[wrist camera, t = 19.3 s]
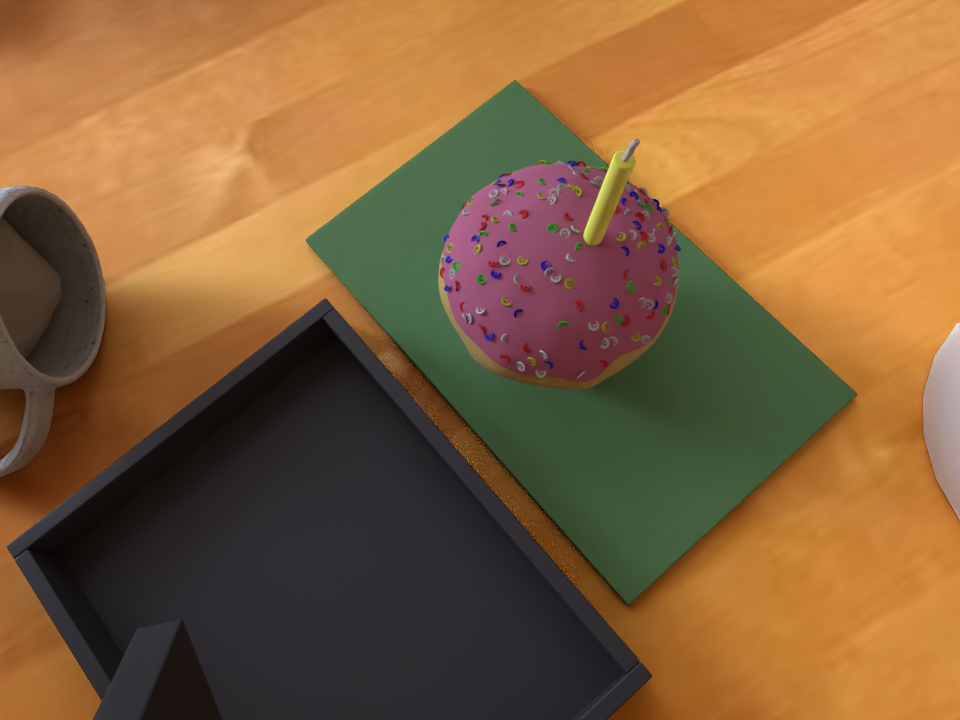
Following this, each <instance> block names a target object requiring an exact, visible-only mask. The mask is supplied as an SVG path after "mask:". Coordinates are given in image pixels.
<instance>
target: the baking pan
mask: <svg viewBox="0 0 960 720" xmlns="http://www.w3.org/2000/svg"><path fill="white" fill-rule="evenodd" d="M7 548H8V550H9V552H10V553H11V555H12V557H13V558H14V559H15V561H16V563H17V564H18V566H19V568H20V569H21V571H22V572H23V574H24V576H25V577H26V579H27V581H28V582H29V584H30V585H31V587H32V589H33V590H34V592H35V594H36V595H37V597H38V598H39V600H40V602H41V603H42V605H43V606H44V608H45V610H46V611H47V613H48V615H49V616H50V618H51V619H52V621H53V623H54V624H55V626H56V628H57V629H58V631H59V632H60V634H61V636H62V637H63V639H64V640H65V642H66V644H67V645H68V647H69V649H70V650H71V652H72V653H73V655H74V657H75V658H76V660H77V662H78V663H79V665H80V666H81V668H82V670H83V671H84V673H85V674H86V676H87V678H88V679H89V681H90V683H91V684H92V686H93V687H94V689H95V691H96V692H97V694H98V696H99V697H100V699H101V700H103V698H104V695H105V693H106V691H107V689H108V687H109V685H110V683H111V681H112V679H113V677H114V675H115V673H116V671H117V669H118V667H119V665H120V663H121V661H122V659H123V657H124V654H125V652H126V650H127V648H128V646H129V644H130V642H131V640H132V638H133V636H134V634H135V632H136V630H137V628H142V627H147V626H151V625H156V624H161V623H165V622H170V621H175V620H180V619H183V622H184V624H185V627H186V629H187V632H188V634H189V637H190V639H191V642H192V644H193V647H194V649H195V652H196V654H197V657H198V659H199V662H200V664H201V667H202V669H203V672H204V675H205V677H206V680H207V682H208V685H209V687H210V690H211V692H212V695H213V697H214V700H215V702H216V705H217V707H218V710H219V712H220V715H221V717H222V720H607V719H608V718H609V717H610V716H611V715H612V714H614V713H615V712H616V711H617V710H618V709H619V708H620V707H621V706H622V705H623V704H624V703H625V702H626V701H627V700H628V699H629V698H630V697H631V696H633V695H634V694H635V693H636V692H637V691H638V690H639V689H640V688H641V687H642V686H643V685H644V684H645V683H646V682H647V681H648V680H649V679H651V677H652V674H651V673H650V672H649V671H648V670H647V669H646V667H645V666H644V665H643V664H642V663H641V662H639V659H638V658H637V657H636V656H635V655H634V653H633V652H632V651H631V650H630V649H629V648H628V647H627V645H626V644H625V643H624V642H623V641H622V640H621V638H620V637H619V636H618V635H617V634H616V633H615V632H614V630H613V629H612V628H611V627H610V626H609V625H608V623H607V622H606V621H605V620H604V619H603V618H602V617H601V615H600V614H599V613H598V612H597V611H596V610H595V608H594V607H593V606H592V605H591V604H590V603H589V602H588V600H587V599H586V598H585V597H584V596H583V595H582V593H581V592H580V591H579V590H578V589H577V588H576V587H575V585H574V584H573V583H572V582H571V581H570V580H569V578H568V577H567V576H566V575H565V574H564V573H563V572H562V570H561V569H560V568H559V567H558V566H557V565H556V563H555V562H554V561H553V560H552V559H551V558H550V557H549V555H548V554H547V553H546V552H545V551H544V550H543V548H542V547H541V546H540V545H539V544H538V543H537V541H536V540H535V539H534V538H533V537H532V536H531V535H530V533H529V532H528V531H527V530H526V529H525V528H524V526H523V525H522V524H521V523H520V522H519V521H518V520H517V518H516V517H515V516H514V515H513V514H512V513H511V511H510V510H509V509H508V508H507V507H506V506H505V505H504V503H503V502H502V501H501V500H500V499H499V498H498V496H497V495H496V494H495V493H494V492H493V491H492V490H491V488H490V487H489V486H488V485H487V484H486V483H485V481H484V480H483V479H482V478H481V477H480V476H479V475H478V473H477V472H476V471H475V470H474V469H473V468H472V466H471V465H470V464H469V463H468V462H467V461H466V460H465V458H464V457H463V456H462V455H461V454H460V453H459V451H458V450H457V449H456V448H455V447H454V446H453V445H452V443H451V442H450V441H449V440H448V439H447V438H446V436H445V435H444V434H443V433H442V432H441V431H440V429H439V428H438V427H437V426H436V425H435V424H434V423H433V421H432V420H431V419H430V418H429V417H428V416H427V414H426V413H425V412H424V411H423V410H422V409H421V408H420V406H419V405H418V404H417V403H416V402H415V401H414V399H413V398H412V397H411V396H410V395H409V394H408V393H407V391H406V390H405V389H404V388H403V387H402V386H401V384H400V383H399V382H398V381H397V380H396V379H395V378H394V376H393V375H392V374H391V373H390V372H389V371H388V369H387V368H386V367H385V366H384V365H383V364H382V363H381V361H380V360H379V359H378V358H377V357H376V356H375V354H374V353H373V352H372V351H371V350H370V349H369V348H368V346H367V345H366V344H365V343H364V342H363V341H362V339H361V338H360V337H359V336H358V335H357V334H356V333H355V331H354V330H353V329H352V328H351V327H350V326H349V324H348V323H347V322H346V321H345V320H344V319H343V317H342V316H341V315H340V314H339V313H338V312H337V311H336V309H334V307H333V306H332V305H331V304H330V303H329V301H328V300H327V299H323V300H322V301H321V302H320V303H318V304H317V305H316V306H314V307H313V308H312V309H311V310H309V311H308V312H307V313H305V314H304V315H303V316H302V317H300V318H299V319H298V320H297V321H295V322H294V323H293V324H291V325H290V326H289V327H288V328H286V329H285V330H284V331H282V332H281V333H280V334H279V335H277V336H276V337H275V338H273V339H272V340H271V341H270V342H268V343H267V344H266V345H264V346H263V347H262V348H261V349H259V350H258V351H257V352H255V353H254V354H253V355H252V356H250V357H249V358H248V359H246V360H245V361H244V362H243V363H241V364H240V365H239V366H237V367H236V368H235V369H234V370H232V371H231V372H230V373H228V374H227V375H226V376H225V377H223V378H222V379H221V380H219V381H218V382H217V383H216V384H214V385H213V386H212V387H210V388H209V389H208V390H207V391H205V392H204V393H203V394H202V395H200V396H199V397H198V398H196V399H195V400H194V401H193V402H191V403H190V404H189V405H187V406H186V407H185V408H184V409H182V410H181V411H180V412H178V413H177V414H176V415H175V416H173V417H172V418H171V419H169V420H168V421H167V422H166V423H164V424H163V425H162V426H160V427H159V428H158V429H157V430H155V431H154V432H153V433H151V434H150V435H149V436H148V437H146V438H145V439H144V440H142V441H141V442H140V443H139V444H137V445H136V446H135V447H133V448H132V449H131V450H130V451H128V452H127V453H126V454H124V455H123V456H122V457H121V458H119V459H118V460H117V461H116V462H114V463H113V464H112V465H110V466H109V467H108V468H107V469H105V470H104V471H103V472H101V473H100V474H99V475H98V476H96V477H95V478H94V479H92V480H91V481H90V482H89V483H87V484H86V485H85V486H83V487H82V488H81V489H80V490H78V491H77V492H76V493H74V494H73V495H72V496H71V497H69V498H68V499H67V500H65V501H64V502H63V503H62V504H60V505H59V506H58V507H56V508H55V509H54V510H53V511H51V512H50V513H49V514H47V515H46V516H45V517H44V518H42V519H41V520H40V521H38V522H37V523H36V524H35V525H33V526H32V527H31V528H30V529H28V530H27V531H26V532H24V533H23V534H22V535H21V536H19V537H18V538H17V539H15V540H14V541H13V542H12V543H10V544H9V545H8V546H7Z"/></svg>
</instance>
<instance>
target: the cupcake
mask: <svg viewBox="0 0 960 720" xmlns="http://www.w3.org/2000/svg"><path fill="white" fill-rule="evenodd" d="M639 143H640V141H639V140H638V139H634V140H633V141H632V142H631V143H630V144H629V146H628V148H627V151H626V150H621V151H618V152H616V153H615V154H614V156H613V158H612V161H611V163H610V166H609V168H608V171H607V169H606V168H604V167H600V168H598V169H597V170H596V169H595V167H591V166H586V164H585V162H583V161H578V162H575V161H568V162H567V163H563V162H561V161H559V160H558V162H556V163H549V162H547V161H545V160H540V165H534V166H529V167H526V168H523V169H520V170H517V171H516V170H512V171H510V172H509V173H503V174H501V175H500V176H499V177H498V180H496V181H494V182H492V183H491V184H489V185H488V186H486V187H484V188H483V189H481V190H480V191H478V192H477V193H476V194H474V195H473V196H472V197H471V198H470V199H469V200H468V201H467V203H466V204H465V203H463V206H462V209H461V212H460V214H459V216H458V217H457V219H456V221H455V223H454V224H453V226H452V228H451V230H450V232H449V234H448V235H445V237H444V242H445V246H444V249H443V252H442V256H441V260H440V265H439V276H438V285H439V293H440V297H441V301H442V304H443V307H444V309H445V311H446V313H447V315H448V317H449V319H450V321H451V323H452V324H453V326H454V328H455V329H456V331H457V332H458V334H459V336H460V337H461V339H462V340H463V342H464V344H465V346H466V348H467V350H468V352H469V354H470V355H471V356H472V358H473V359H474V360H475V361H476V362H478V363H479V364H480V365H482V366H483V367H484V368H486V369H487V370H489V371H490V372H492V373H494V374H496V375H499V376H501V377H504V378H507V379H510V380H513V381H517V382H521V383H526V384H532V385H537V386H543V387H552V388H561V389H569V390H584V389H588V388H591V387H593V386H595V385H597V384H598V383H600V382H602V381H603V380H605V379H606V378H608V377H610V376H612V375H613V374H615V373H617V372H619V371H620V370H622V369H623V368H625V367H626V366H628V365H629V364H630V363H632V362H633V361H634V360H636V359H637V358H638V357H639V356H641V355H642V354H643V353H644V352H645V351H646V350H647V349H648V348H649V347H650V346H651V345H652V344H653V343H654V342H655V341H656V339H657V338H658V337H659V335H660V334H661V332H662V331H663V329H664V328H665V326H666V324H667V322H668V320H669V318H670V316H671V313H672V311H673V308H674V305H675V301H676V297H677V291H678V281H679V262H678V251H681V248H680V246H679V245H677V244H676V239H675V232H673V225H671V224H670V220H669V219H668V218H667V217H668V216H669V211H668V209H667V208H663V209H662V210H661V207H660V206H659V201H658V200H656V199H652V198H651V197H649V196H648V195H647V191H646V189H645V188H643V187H640V188H638V187H636V186H634V185H633V184H631V183H629V182H628V179H629V177H630V174H631V172H632V170H633V167H634V165H635V157H634V156H633V153H634V150H635V148H636V147H637V146H638V144H639ZM543 162H545V163H543ZM570 163H571V164H570ZM580 163H582V165H584V166H582V165H581V164H580ZM579 164H580V165H581V166H579ZM602 169H603V170H605V171H604V172H603V170H602ZM600 170H601V171H600ZM512 172H513V173H512ZM510 173H511V174H510ZM502 176H504V177H502ZM501 177H502V178H501ZM642 190H643V191H642ZM644 192H645V193H644ZM655 202H656V203H657V205H656V204H655ZM665 210H666V212H667V213H666V212H665ZM664 212H665V213H666V214H667V215H665V213H664ZM446 237H447V238H446ZM677 247H678V248H679V249H678V248H677Z"/></svg>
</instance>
